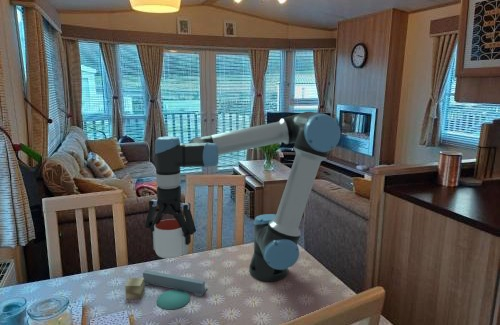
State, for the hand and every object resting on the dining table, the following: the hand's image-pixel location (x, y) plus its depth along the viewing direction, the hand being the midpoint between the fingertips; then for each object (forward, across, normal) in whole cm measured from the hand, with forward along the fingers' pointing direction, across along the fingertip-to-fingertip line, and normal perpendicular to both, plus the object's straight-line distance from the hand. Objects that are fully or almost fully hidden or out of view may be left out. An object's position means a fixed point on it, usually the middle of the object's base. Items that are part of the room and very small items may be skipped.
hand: (171, 250), depth 114 cm
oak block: (+18, +14, +1) cm, 23 cm away
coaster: (+18, 0, 0) cm, 18 cm away
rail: (+18, +4, -7) cm, 20 cm away
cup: (+1, 0, 0) cm, 1 cm away
